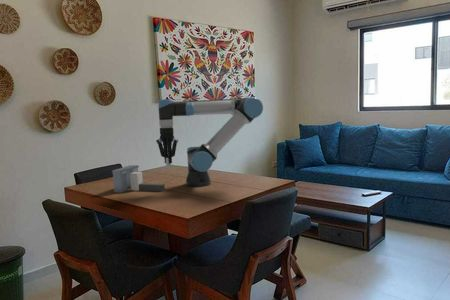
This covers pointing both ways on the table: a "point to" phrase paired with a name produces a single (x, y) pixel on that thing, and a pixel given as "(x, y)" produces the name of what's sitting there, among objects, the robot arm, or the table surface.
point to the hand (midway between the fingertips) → (168, 169)
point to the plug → (139, 185)
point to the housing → (123, 178)
